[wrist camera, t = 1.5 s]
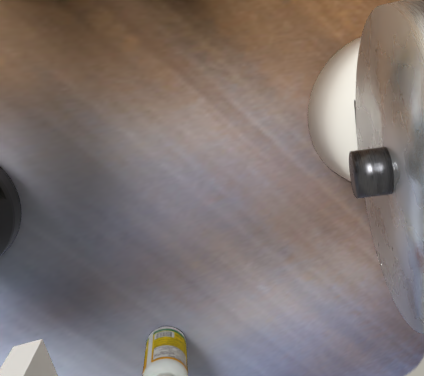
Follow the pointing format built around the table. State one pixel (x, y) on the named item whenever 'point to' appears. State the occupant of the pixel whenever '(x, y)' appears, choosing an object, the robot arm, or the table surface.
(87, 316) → the table surface
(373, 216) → the cooker lid
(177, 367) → the supplement bottle
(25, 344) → the robot arm
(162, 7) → the table surface
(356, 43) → the cooker pot
